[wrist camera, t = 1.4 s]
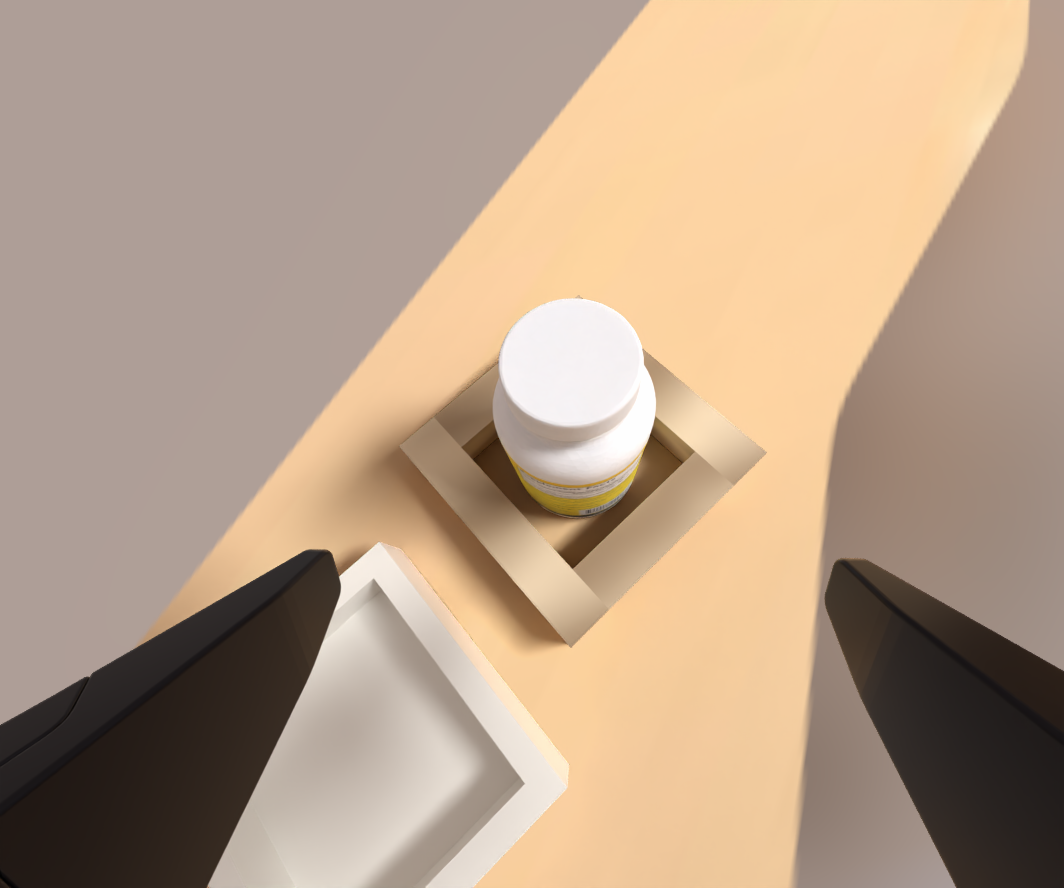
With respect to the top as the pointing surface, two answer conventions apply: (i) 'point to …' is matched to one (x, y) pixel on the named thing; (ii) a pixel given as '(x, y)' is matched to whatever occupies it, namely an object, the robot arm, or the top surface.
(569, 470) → the supplement bottle
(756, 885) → the top surface
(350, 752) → the plastic tray
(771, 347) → the top surface
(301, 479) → the top surface
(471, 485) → the wooden square frame
